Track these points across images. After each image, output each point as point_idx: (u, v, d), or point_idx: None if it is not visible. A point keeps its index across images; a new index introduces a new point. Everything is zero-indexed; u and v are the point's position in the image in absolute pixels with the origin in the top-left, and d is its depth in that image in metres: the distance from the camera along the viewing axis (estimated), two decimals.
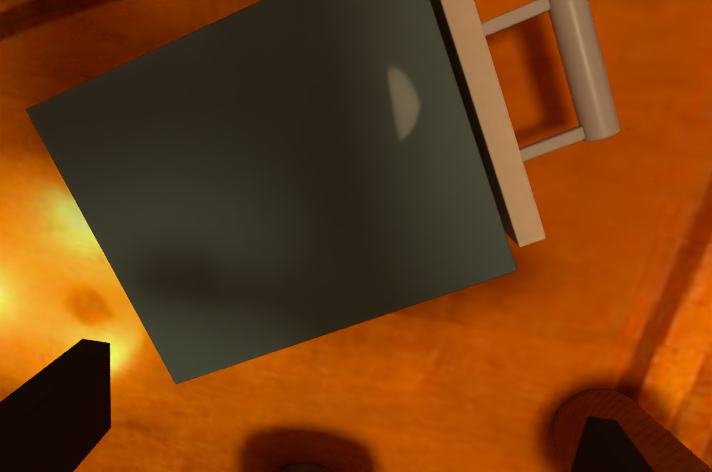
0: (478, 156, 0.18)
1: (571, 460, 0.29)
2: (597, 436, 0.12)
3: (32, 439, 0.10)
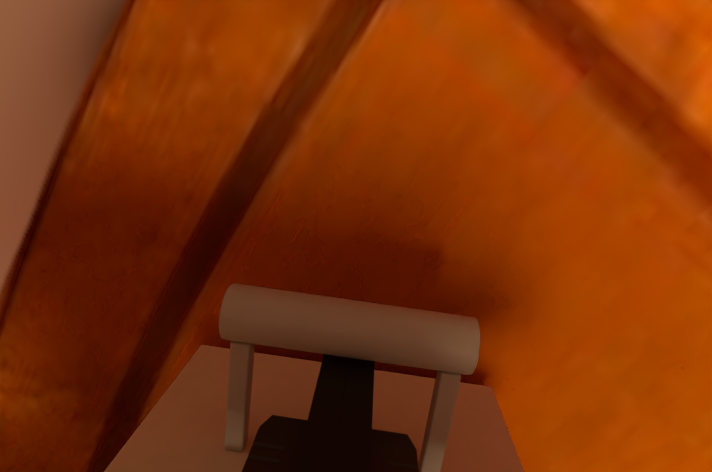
0: None
1: None
2: None
3: None
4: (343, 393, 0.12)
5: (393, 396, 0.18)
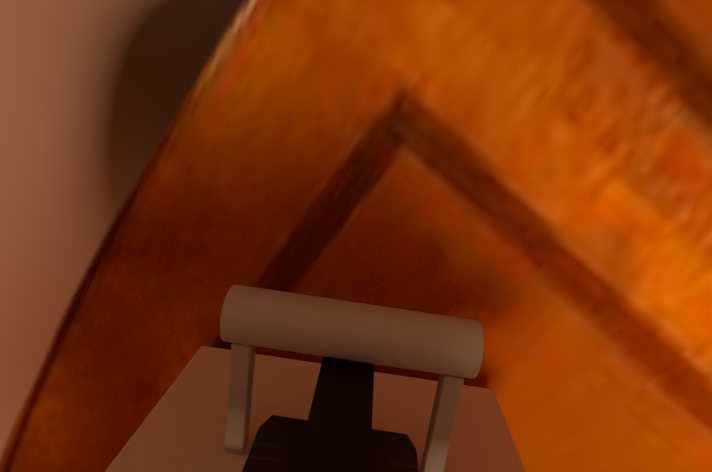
0: None
1: None
2: None
3: None
4: (343, 393, 0.12)
5: (395, 398, 0.18)
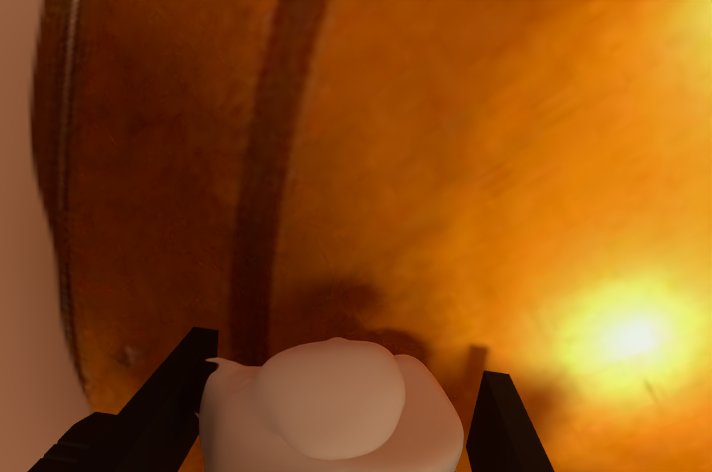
0: None
1: None
2: (487, 386, 0.13)
3: (175, 411, 0.11)
4: (510, 440, 0.11)
5: None
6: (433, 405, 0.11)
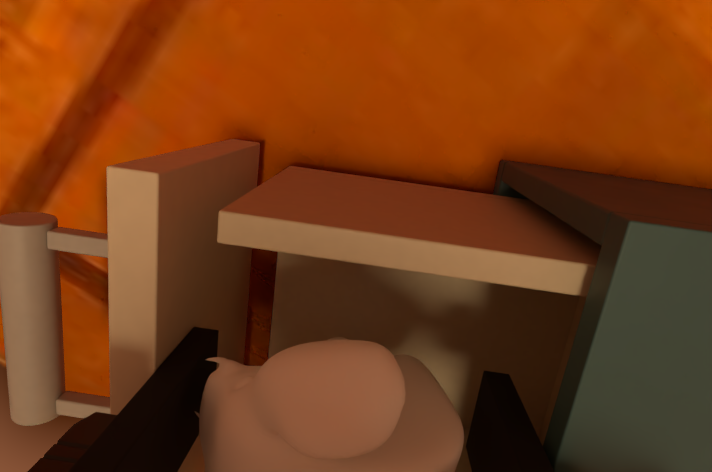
0: (566, 442, 0.10)
1: None
2: (487, 386, 0.13)
3: (175, 411, 0.11)
4: (509, 440, 0.11)
5: None
6: (433, 405, 0.11)
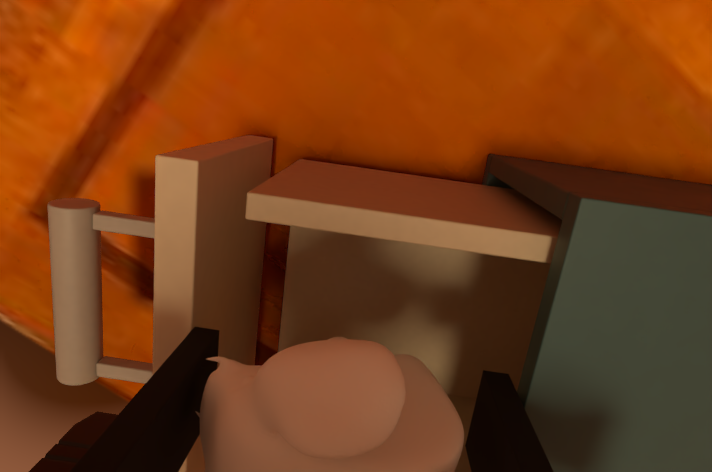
0: (534, 383, 0.13)
1: None
2: (487, 386, 0.13)
3: (177, 411, 0.11)
4: (509, 440, 0.11)
5: None
6: (434, 405, 0.11)
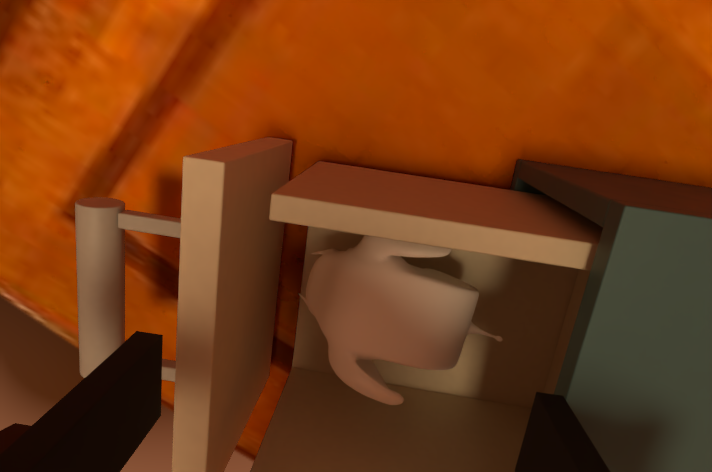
0: (572, 389, 0.13)
1: None
2: (543, 409, 0.12)
3: (103, 422, 0.11)
4: None
5: None
6: (458, 280, 0.19)
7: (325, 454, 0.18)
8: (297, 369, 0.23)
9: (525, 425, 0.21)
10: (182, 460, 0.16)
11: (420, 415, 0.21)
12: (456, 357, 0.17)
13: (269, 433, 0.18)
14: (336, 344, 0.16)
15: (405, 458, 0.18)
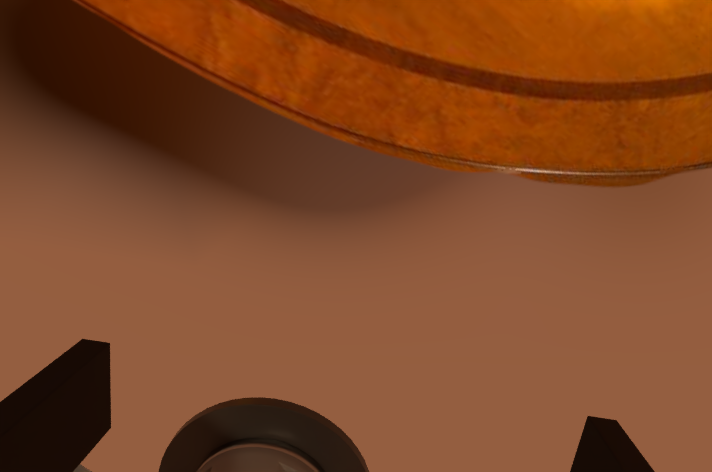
0: None
1: None
2: (597, 436, 0.12)
3: (32, 439, 0.10)
4: None
5: None
6: None
7: None
8: None
9: None
10: None
11: None
12: None
13: None
14: None
15: None
